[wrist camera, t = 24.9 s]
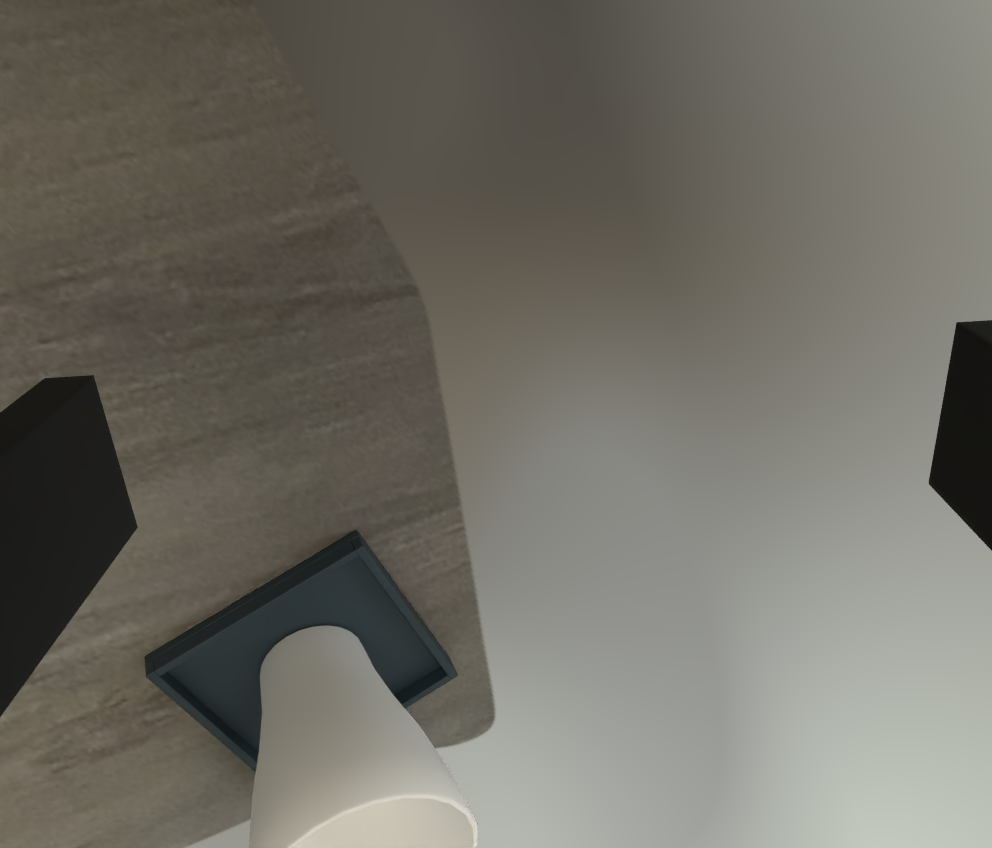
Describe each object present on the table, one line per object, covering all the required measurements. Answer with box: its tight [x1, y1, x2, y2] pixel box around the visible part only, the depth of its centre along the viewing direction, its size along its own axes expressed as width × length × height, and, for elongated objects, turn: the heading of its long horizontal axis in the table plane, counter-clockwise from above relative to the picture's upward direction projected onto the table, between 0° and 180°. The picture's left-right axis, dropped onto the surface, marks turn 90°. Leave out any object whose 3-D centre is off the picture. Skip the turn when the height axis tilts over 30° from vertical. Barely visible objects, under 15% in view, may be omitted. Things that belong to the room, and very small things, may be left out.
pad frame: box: [145, 530, 458, 772], centre depth 49 cm, size 13×13×2 cm
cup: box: [249, 625, 478, 848], centre depth 44 cm, size 10×10×14 cm
